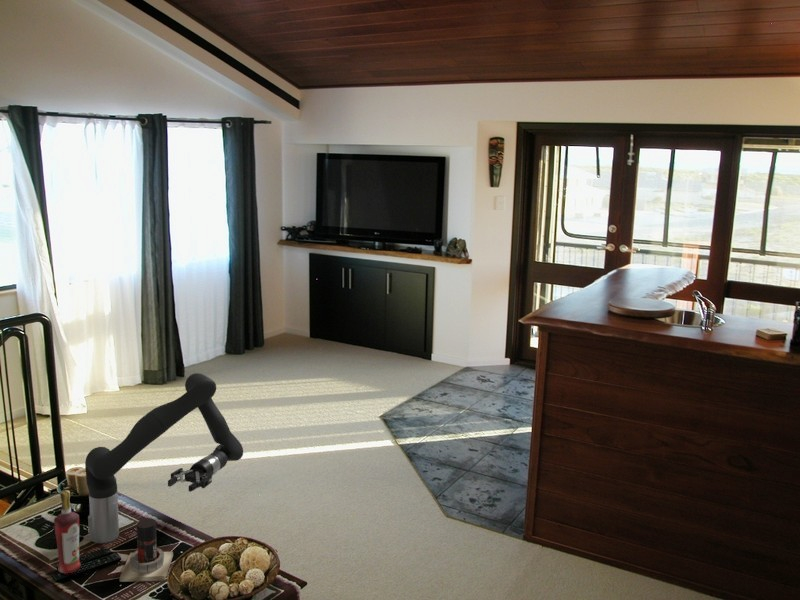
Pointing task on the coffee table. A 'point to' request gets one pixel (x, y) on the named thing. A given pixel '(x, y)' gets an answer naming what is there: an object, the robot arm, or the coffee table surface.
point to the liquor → (67, 536)
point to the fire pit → (146, 568)
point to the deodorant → (146, 540)
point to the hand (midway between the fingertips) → (179, 486)
